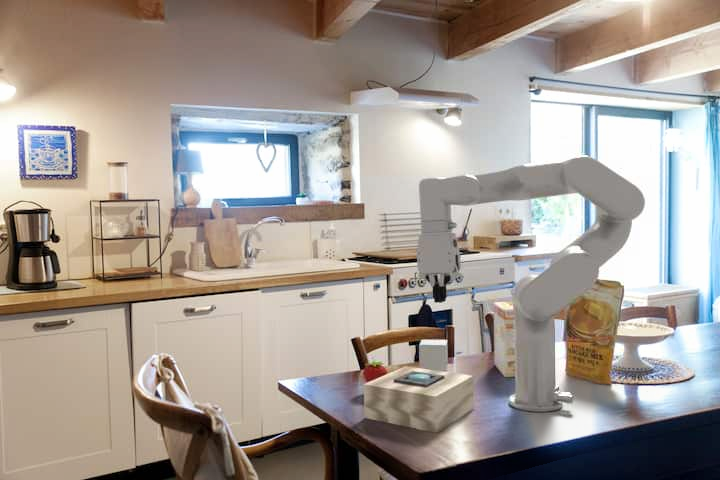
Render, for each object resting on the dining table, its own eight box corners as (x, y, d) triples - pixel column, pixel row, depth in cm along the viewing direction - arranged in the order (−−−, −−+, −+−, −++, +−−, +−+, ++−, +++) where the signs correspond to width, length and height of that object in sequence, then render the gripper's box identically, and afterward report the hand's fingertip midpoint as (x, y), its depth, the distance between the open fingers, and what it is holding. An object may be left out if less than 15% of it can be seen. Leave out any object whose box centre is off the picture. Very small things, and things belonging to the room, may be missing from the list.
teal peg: (434, 404, 148) (433, 375, 148) (423, 410, 144) (423, 380, 144) (416, 401, 151) (415, 373, 151) (405, 407, 147) (404, 377, 147)
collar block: (473, 408, 150) (473, 373, 150) (436, 432, 135) (435, 393, 134) (406, 396, 161) (405, 363, 161) (364, 417, 146) (363, 381, 145)
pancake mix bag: (572, 368, 184) (571, 274, 182) (627, 384, 167) (626, 280, 165) (555, 372, 181) (554, 276, 179) (609, 388, 164) (608, 282, 162)
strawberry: (373, 398, 160) (372, 360, 160) (359, 391, 167) (358, 355, 166) (393, 394, 163) (392, 357, 163) (378, 388, 170) (377, 352, 169)
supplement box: (447, 392, 164) (446, 345, 163) (419, 391, 165) (418, 344, 165) (448, 384, 171) (447, 339, 171) (422, 383, 173) (420, 338, 172)
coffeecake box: (529, 377, 176) (528, 308, 175) (504, 377, 177) (502, 309, 176) (517, 363, 191) (516, 301, 190) (493, 364, 192) (492, 301, 191)
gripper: (470, 226, 153) (474, 300, 153) (416, 228, 161) (420, 298, 161) (458, 227, 146) (462, 305, 147) (402, 229, 154) (406, 303, 155)
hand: (440, 301), depth 154 cm, fingers closed
